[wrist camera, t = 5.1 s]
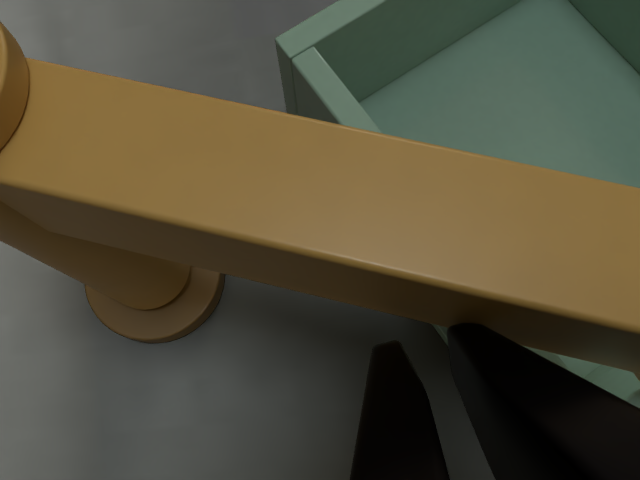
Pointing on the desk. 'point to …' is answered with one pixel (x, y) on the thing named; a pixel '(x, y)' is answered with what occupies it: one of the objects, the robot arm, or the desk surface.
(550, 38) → the green open box
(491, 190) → the faucet
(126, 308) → the base
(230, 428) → the desk surface
